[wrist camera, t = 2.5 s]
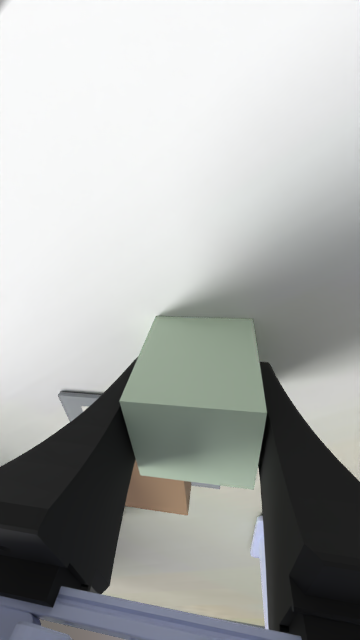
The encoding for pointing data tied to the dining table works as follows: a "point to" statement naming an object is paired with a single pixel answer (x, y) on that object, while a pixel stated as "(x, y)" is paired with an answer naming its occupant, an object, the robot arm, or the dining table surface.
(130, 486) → the walnut brick
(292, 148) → the dining table surface
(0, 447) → the dining table surface
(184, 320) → the sage cube
